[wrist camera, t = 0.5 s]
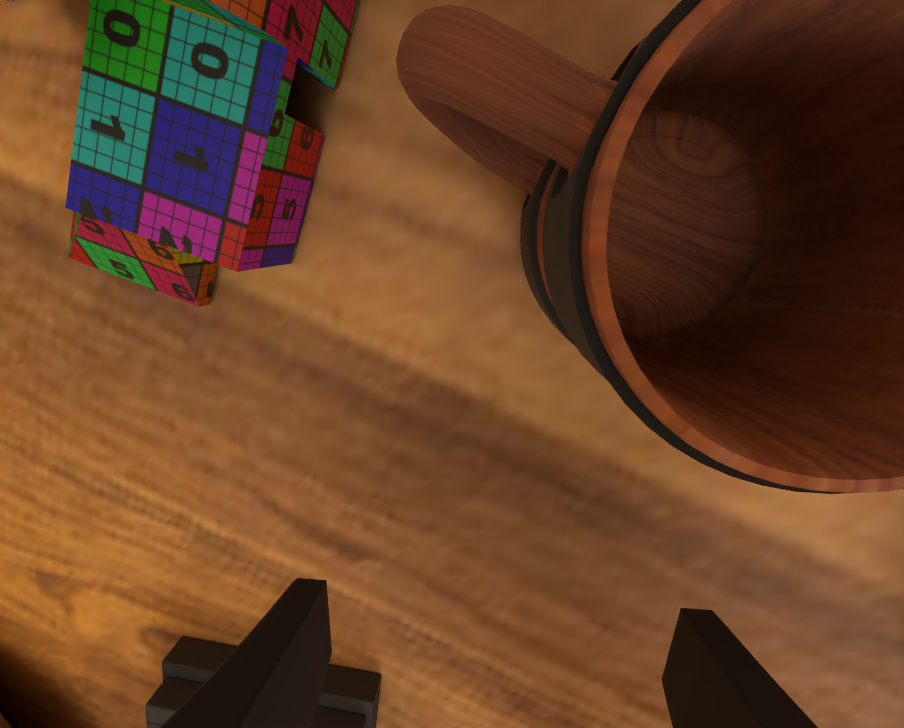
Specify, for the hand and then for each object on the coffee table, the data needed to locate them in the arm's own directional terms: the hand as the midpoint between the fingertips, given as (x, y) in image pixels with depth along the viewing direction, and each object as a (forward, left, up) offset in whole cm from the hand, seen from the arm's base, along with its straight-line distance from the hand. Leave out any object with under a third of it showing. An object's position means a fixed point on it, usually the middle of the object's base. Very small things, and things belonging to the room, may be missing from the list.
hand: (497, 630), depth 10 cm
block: (+10, +12, -10) cm, 19 cm away
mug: (+9, -2, -10) cm, 14 cm away
